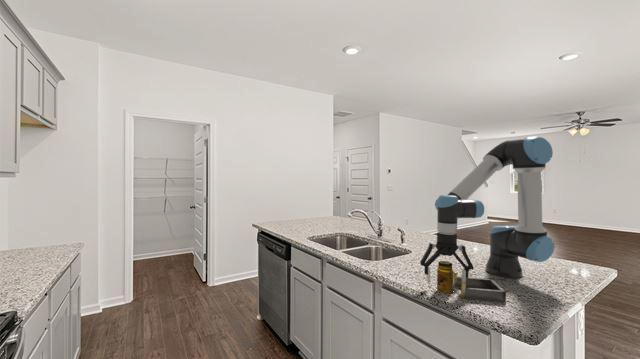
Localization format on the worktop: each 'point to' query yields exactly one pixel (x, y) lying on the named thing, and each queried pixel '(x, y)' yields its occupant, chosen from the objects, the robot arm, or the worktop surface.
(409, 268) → the worktop surface
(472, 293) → the grey open rectangular box
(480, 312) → the worktop surface
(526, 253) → the robot arm
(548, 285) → the worktop surface
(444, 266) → the condiment
